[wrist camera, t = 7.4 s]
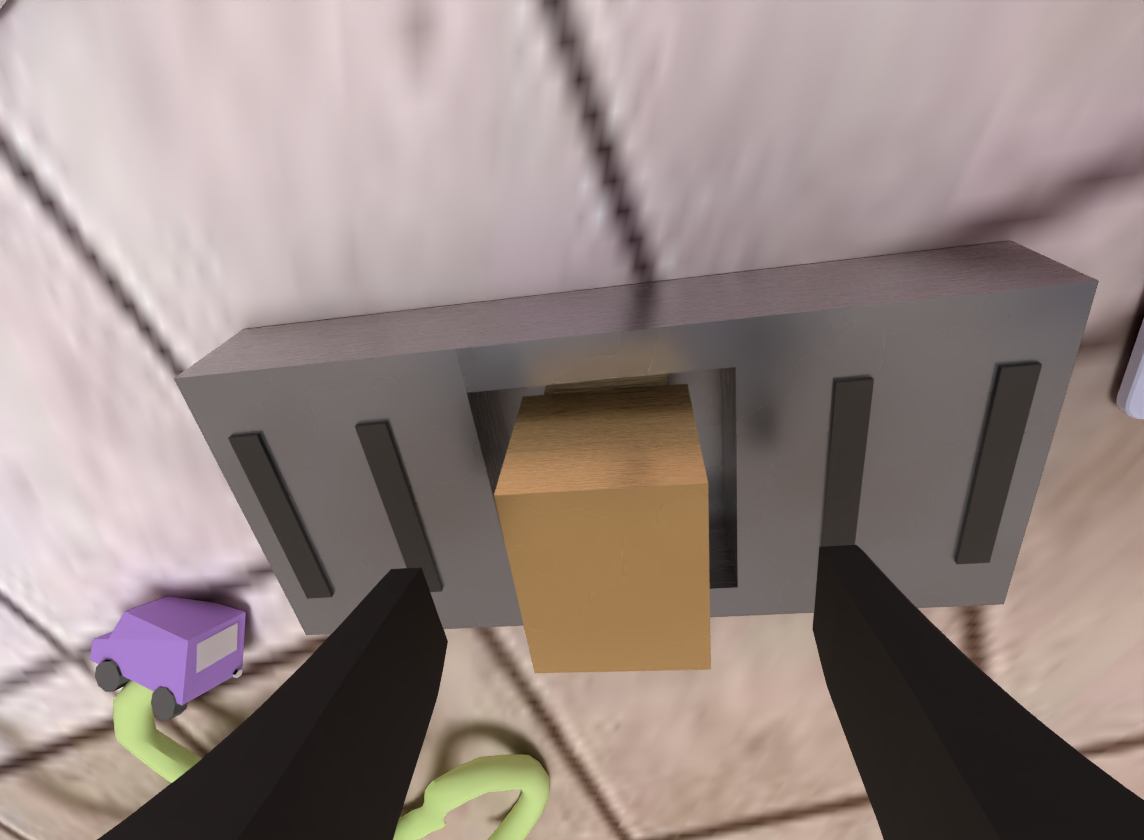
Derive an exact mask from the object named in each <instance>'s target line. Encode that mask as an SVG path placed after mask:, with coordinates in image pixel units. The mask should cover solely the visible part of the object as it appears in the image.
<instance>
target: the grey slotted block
mask: <svg viewBox="0 0 1144 840" xmlns="http://www.w3.org/2000/svg"><path fill="white" fill-rule="evenodd" d="M1098 282H1099V281H1098V280H1096V279H1094V278H1091V277H1089V276H1087V275H1085V274H1083V273H1080V272H1078V271H1076V270H1074V269H1072V268H1069V267H1067V266H1065V265H1063V264H1061V263H1058V262H1056V261H1054V260H1052V259H1050V258H1047V257H1045V256H1043V255H1041V254H1039V253H1036V252H1034V251H1032V250H1030V249H1028V248H1025V247H1023V246H1021V245H1019V244H1017V243H1015V242H1012V241H1006V242H997V243H988V244H980V245H971V246H962V247H954V248H945V249H936V250H927V251H919V252H910V253H901V254H893V255H884V256H875V257H867V258H858V259H849V260H841V261H832V262H823V263H815V264H806V265H797V266H789V267H780V268H771V269H763V270H754V271H745V272H737V273H728V274H719V275H710V276H702V277H693V278H684V279H676V280H667V281H658V282H650V283H641V284H632V285H624V286H615V287H606V288H598V289H589V290H580V291H572V292H563V293H554V294H546V295H537V296H528V297H520V298H511V299H502V300H493V301H485V302H476V303H467V304H459V305H450V306H441V307H433V308H424V309H415V310H407V311H398V312H389V313H381V314H372V315H363V316H355V317H346V318H337V319H329V320H320V321H311V322H302V323H294V324H285V325H276V326H268V327H259V328H250V329H243V330H242V331H240V332H239V333H238V334H236V335H235V336H233V337H232V338H230V339H229V340H228V341H226V342H225V343H223V344H222V345H221V346H219V347H218V348H216V349H215V350H214V351H212V352H211V353H209V354H208V355H206V356H205V357H204V358H202V359H201V360H199V361H198V362H197V363H195V364H194V365H192V366H191V367H189V368H188V369H187V370H185V371H184V372H182V373H181V374H180V375H178V376H177V377H175V378H174V380H175V382H176V383H177V385H178V387H179V389H180V391H181V393H182V395H183V397H184V399H185V401H186V403H187V405H188V407H189V409H190V411H191V413H192V415H193V416H194V418H195V420H196V422H197V424H198V426H199V428H200V430H201V432H202V434H203V436H204V438H205V440H206V442H207V444H208V446H209V447H210V449H211V451H212V453H213V455H214V457H215V459H216V461H217V463H218V465H219V467H220V469H221V471H222V473H223V475H224V477H225V479H226V480H227V482H228V484H229V486H230V488H231V490H232V492H233V494H234V496H235V498H236V500H237V502H238V504H239V506H240V508H241V510H242V511H243V513H244V515H245V517H246V519H247V521H248V523H249V525H250V527H251V529H252V531H253V533H254V535H255V537H256V539H257V541H258V543H259V544H260V546H261V548H262V550H263V552H264V554H265V556H266V558H267V560H268V562H269V564H270V566H271V568H272V570H273V572H274V574H275V576H276V577H277V579H278V581H279V583H280V585H281V587H282V589H283V591H284V593H285V595H286V597H287V599H288V601H289V603H290V605H291V607H292V608H293V610H294V612H295V614H296V616H297V618H298V620H299V622H300V624H301V626H302V628H303V630H304V632H305V634H306V635H319V634H332V633H333V632H334V631H335V630H336V629H337V628H338V626H339V625H340V624H341V623H342V622H343V621H344V620H345V619H346V618H347V617H348V616H349V614H350V613H351V612H352V611H353V610H354V609H355V608H356V607H357V606H358V605H359V603H360V602H361V601H362V600H363V599H364V598H365V597H366V596H367V595H368V593H369V592H370V591H371V590H372V589H373V588H374V587H375V586H376V585H377V583H378V582H379V581H380V580H381V579H382V578H383V577H384V576H385V575H386V574H387V573H388V572H389V571H390V570H391V569H400V568H420V567H422V570H423V573H424V576H425V579H426V581H427V584H428V587H429V590H430V593H431V596H432V598H433V601H434V604H435V607H436V610H437V613H438V615H439V618H440V621H441V624H442V627H443V629H455V628H477V627H500V626H522V625H524V624H523V620H522V615H521V611H520V607H519V602H518V598H517V594H516V589H515V585H514V581H513V576H512V572H511V568H510V563H509V559H508V554H507V550H506V546H505V541H504V537H503V533H502V528H501V524H500V520H499V515H498V511H497V507H496V502H495V498H494V493H495V490H496V486H497V483H498V480H499V476H500V473H501V469H502V466H503V463H504V459H505V456H506V452H507V449H508V445H509V442H510V439H511V435H512V432H513V428H514V425H515V421H516V418H517V415H518V411H519V408H520V404H521V401H522V397H523V396H533V395H544V391H545V387H546V385H552V384H563V383H573V382H583V381H594V380H604V379H615V378H625V377H636V376H646V375H657V374H668V381H669V385H677V384H688V389H689V394H690V399H691V403H692V408H693V413H694V418H695V423H696V427H697V432H698V437H699V442H700V446H701V451H702V456H703V461H704V466H705V470H706V475H707V480H708V507H709V582H710V617H725V616H748V615H771V614H793V613H814V606H815V594H816V581H817V569H818V556H819V547H823V546H842V545H857V546H859V547H860V548H861V549H862V550H863V551H864V552H865V553H866V554H867V555H868V556H869V558H870V559H871V560H872V561H873V562H874V563H875V564H876V565H877V566H878V567H879V568H880V570H881V571H882V572H883V573H884V574H885V575H886V576H887V577H888V578H889V579H890V580H891V581H892V582H893V583H894V585H895V586H896V587H897V588H898V589H899V590H900V591H901V592H902V593H903V594H904V595H905V596H906V597H907V598H908V599H909V600H910V601H911V602H912V603H913V604H914V605H915V606H916V607H917V608H929V607H951V606H974V605H996V604H1004V602H1005V599H1006V595H1007V592H1008V588H1009V585H1010V582H1011V578H1012V575H1013V571H1014V568H1015V565H1016V561H1017V558H1018V554H1019V551H1020V547H1021V544H1022V541H1023V537H1024V534H1025V530H1026V527H1027V524H1028V520H1029V517H1030V513H1031V510H1032V507H1033V503H1034V500H1035V496H1036V493H1037V490H1038V486H1039V483H1040V479H1041V476H1042V472H1043V469H1044V466H1045V462H1046V459H1047V455H1048V452H1049V449H1050V445H1051V442H1052V438H1053V435H1054V432H1055V428H1056V425H1057V421H1058V418H1059V415H1060V411H1061V408H1062V404H1063V401H1064V397H1065V394H1066V391H1067V387H1068V384H1069V380H1070V377H1071V374H1072V370H1073V367H1074V363H1075V360H1076V357H1077V353H1078V350H1079V346H1080V343H1081V340H1082V336H1083V333H1084V329H1085V326H1086V322H1087V319H1088V316H1089V312H1090V309H1091V305H1092V302H1093V299H1094V295H1095V292H1096V288H1097V285H1098Z"/></svg>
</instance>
